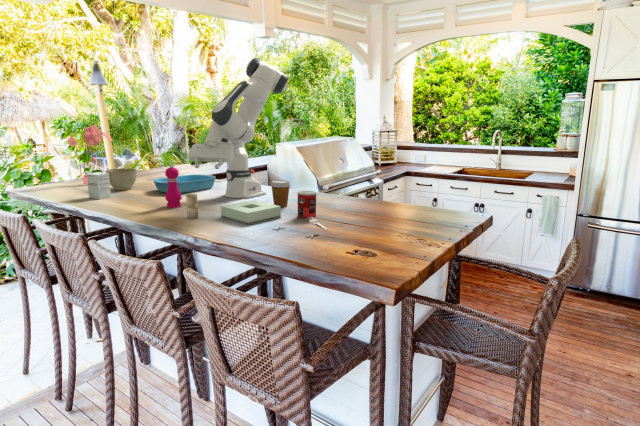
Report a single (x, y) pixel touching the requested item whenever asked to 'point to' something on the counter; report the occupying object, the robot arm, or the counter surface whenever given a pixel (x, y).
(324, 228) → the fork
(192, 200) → the birch peg
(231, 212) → the socket block
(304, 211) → the canned food
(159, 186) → the casserole dish
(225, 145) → the robot arm
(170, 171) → the pepper mill
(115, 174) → the planter bowl
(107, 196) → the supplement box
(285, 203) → the disposable coffee cup
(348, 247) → the counter surface
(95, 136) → the red flower plant
